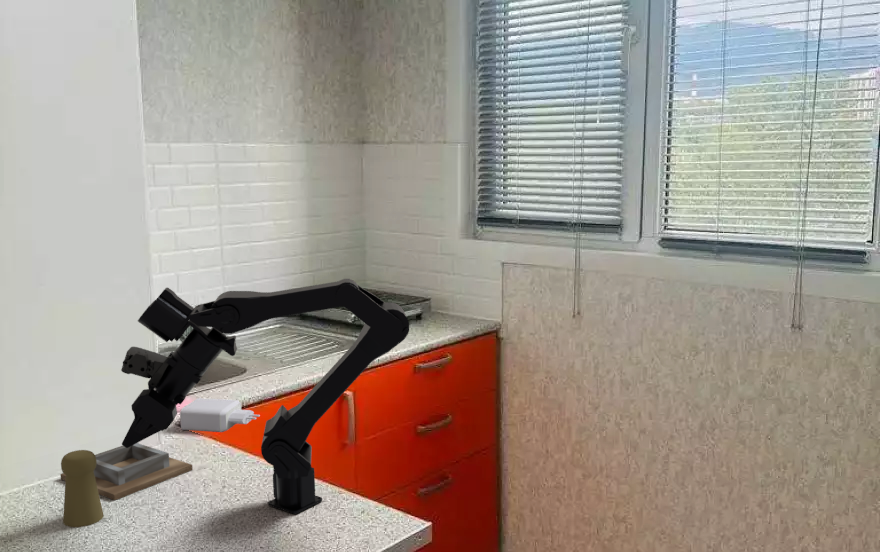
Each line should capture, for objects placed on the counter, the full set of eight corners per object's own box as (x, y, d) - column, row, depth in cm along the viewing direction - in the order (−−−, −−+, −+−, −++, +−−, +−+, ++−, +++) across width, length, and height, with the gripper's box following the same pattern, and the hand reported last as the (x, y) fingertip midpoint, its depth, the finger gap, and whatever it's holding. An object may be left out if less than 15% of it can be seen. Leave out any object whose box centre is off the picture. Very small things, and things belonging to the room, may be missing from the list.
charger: (249, 436, 177) (180, 431, 180) (267, 421, 186) (202, 417, 189) (247, 413, 176) (179, 409, 179) (266, 399, 185) (200, 396, 188)
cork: (91, 507, 143) (86, 443, 141) (111, 517, 139) (106, 451, 138) (55, 520, 139) (49, 453, 137) (75, 530, 135) (69, 462, 133)
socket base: (192, 469, 159) (191, 451, 158) (114, 500, 146) (113, 480, 145) (138, 452, 168) (137, 434, 167) (60, 479, 155) (59, 460, 154)
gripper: (159, 316, 145) (101, 389, 146) (136, 343, 127) (70, 425, 127) (214, 356, 147) (157, 427, 148) (199, 387, 129) (134, 469, 130)
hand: (130, 435), depth 138 cm, fingers open, 9 cm apart
